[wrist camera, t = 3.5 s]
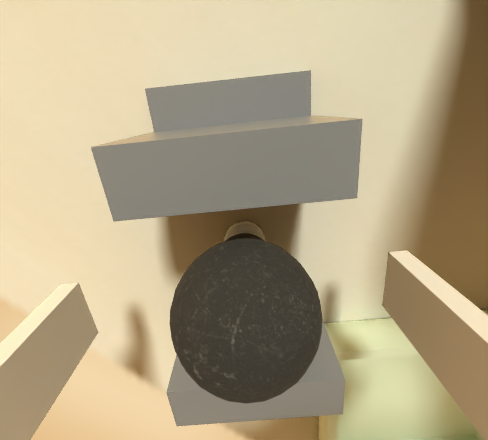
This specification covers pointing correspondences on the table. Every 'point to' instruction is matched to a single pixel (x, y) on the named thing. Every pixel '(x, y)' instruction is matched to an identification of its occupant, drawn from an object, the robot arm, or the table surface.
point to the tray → (389, 389)
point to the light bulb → (246, 318)
